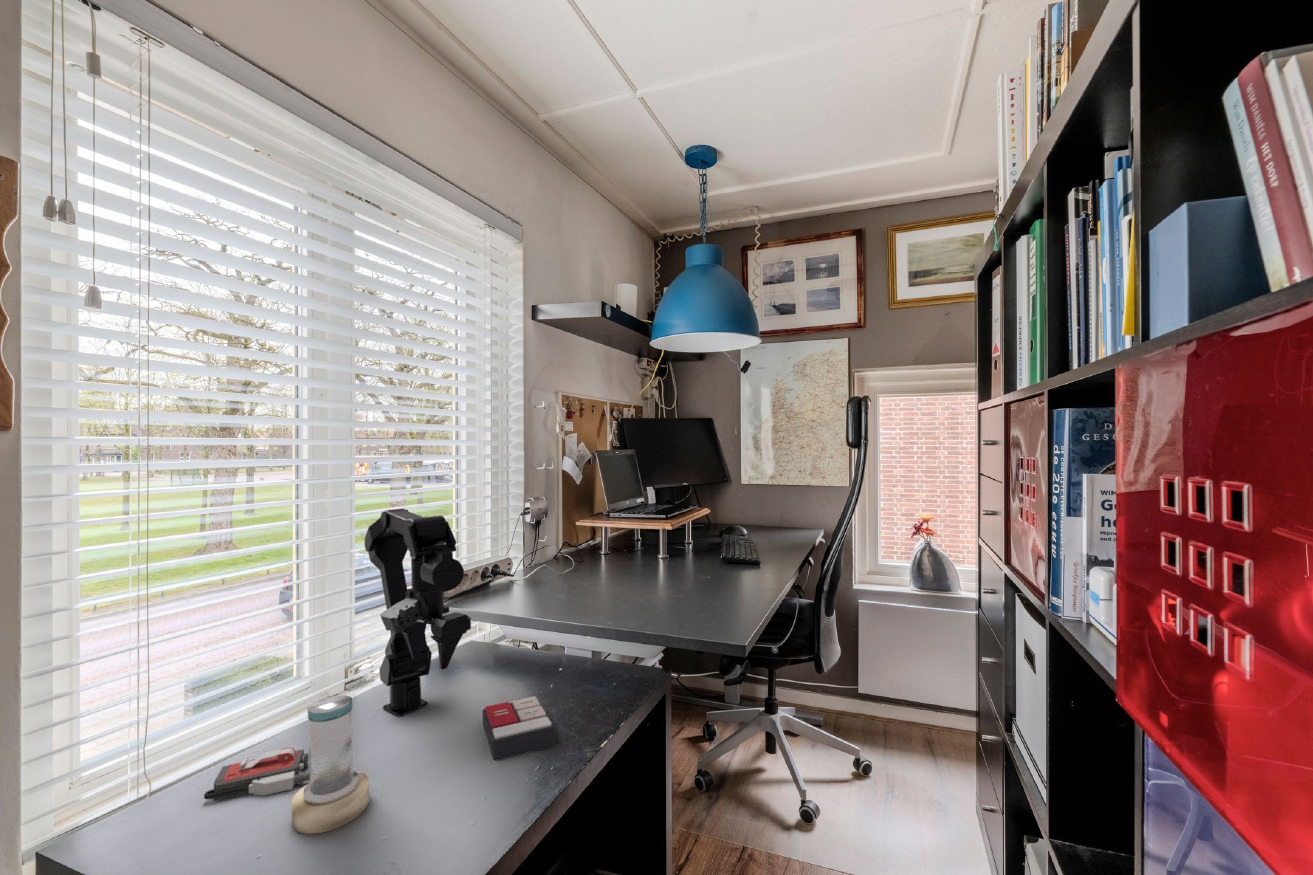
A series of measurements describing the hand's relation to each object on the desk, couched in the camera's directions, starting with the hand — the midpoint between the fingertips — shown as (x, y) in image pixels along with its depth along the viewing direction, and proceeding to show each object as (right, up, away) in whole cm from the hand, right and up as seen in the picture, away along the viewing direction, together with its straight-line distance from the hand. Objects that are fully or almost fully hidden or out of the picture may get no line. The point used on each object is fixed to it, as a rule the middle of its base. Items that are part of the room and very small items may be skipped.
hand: (429, 663), depth 106 cm
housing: (-6, -10, -22) cm, 25 cm away
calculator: (+17, -13, -1) cm, 22 cm away
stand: (-5, -13, -23) cm, 27 cm away
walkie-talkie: (-19, -14, -14) cm, 27 cm away
